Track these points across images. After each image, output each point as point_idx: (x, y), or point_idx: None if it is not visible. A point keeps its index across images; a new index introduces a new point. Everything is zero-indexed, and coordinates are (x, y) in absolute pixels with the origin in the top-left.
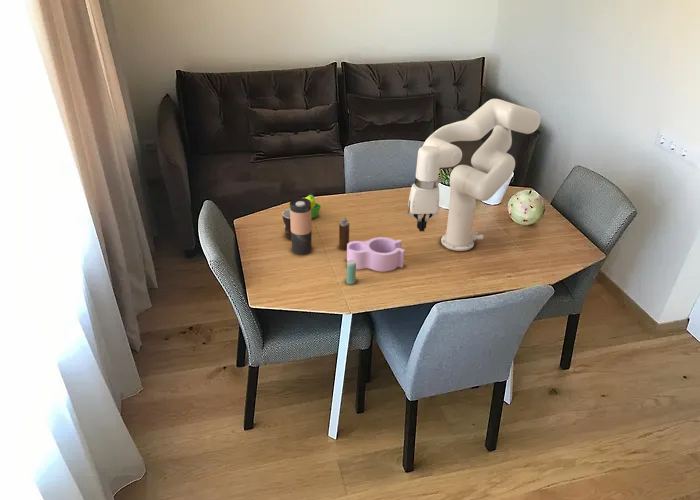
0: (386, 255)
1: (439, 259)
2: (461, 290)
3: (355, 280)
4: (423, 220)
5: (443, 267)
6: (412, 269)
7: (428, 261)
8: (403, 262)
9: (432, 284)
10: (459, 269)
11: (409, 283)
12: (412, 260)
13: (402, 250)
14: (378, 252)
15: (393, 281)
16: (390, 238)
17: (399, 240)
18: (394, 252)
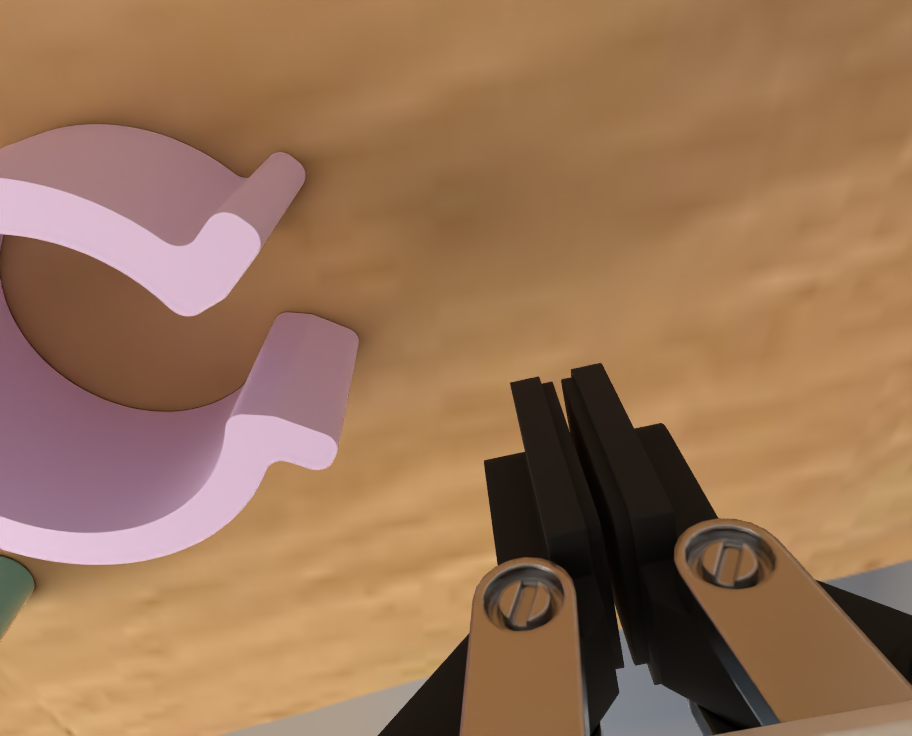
0: (159, 553)
1: (729, 161)
2: None
3: (25, 596)
4: (652, 656)
5: (735, 302)
6: (445, 372)
7: (605, 218)
8: (353, 368)
9: None
10: (877, 312)
11: (428, 540)
12: (441, 223)
13: (313, 459)
14: (54, 531)
15: (307, 535)
16: (82, 201)
17: (230, 239)
18: (230, 508)
